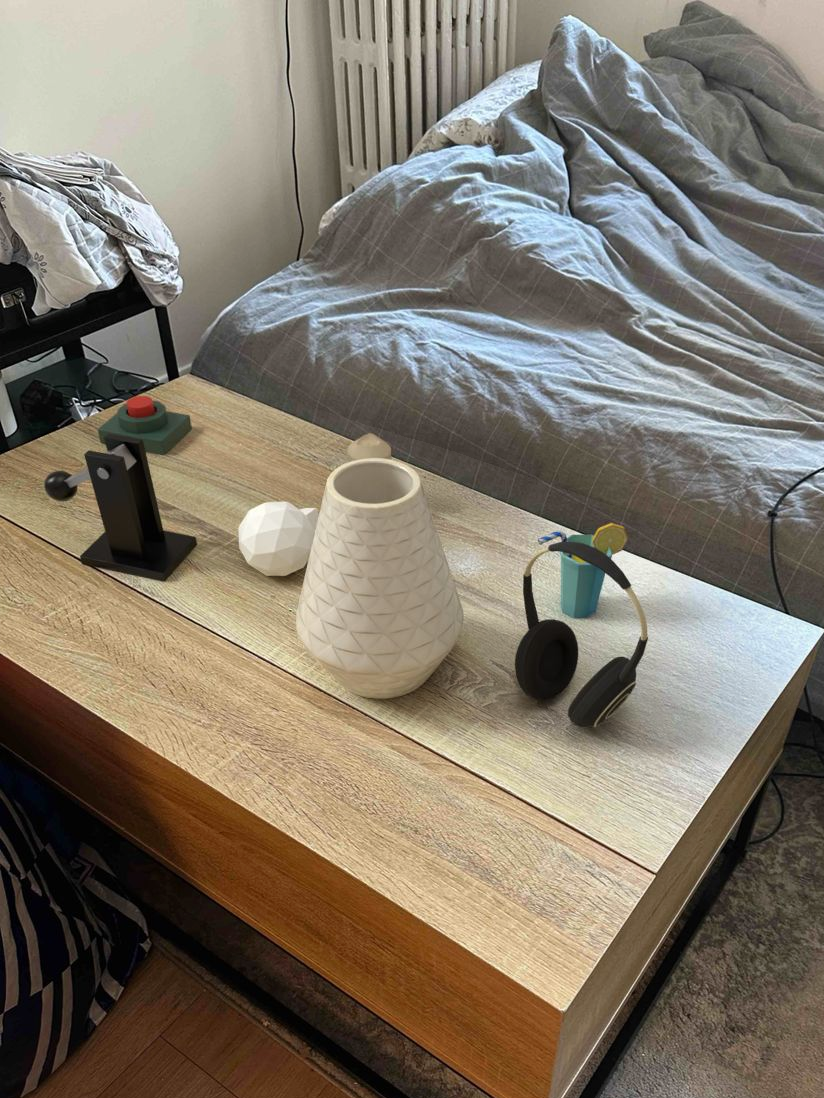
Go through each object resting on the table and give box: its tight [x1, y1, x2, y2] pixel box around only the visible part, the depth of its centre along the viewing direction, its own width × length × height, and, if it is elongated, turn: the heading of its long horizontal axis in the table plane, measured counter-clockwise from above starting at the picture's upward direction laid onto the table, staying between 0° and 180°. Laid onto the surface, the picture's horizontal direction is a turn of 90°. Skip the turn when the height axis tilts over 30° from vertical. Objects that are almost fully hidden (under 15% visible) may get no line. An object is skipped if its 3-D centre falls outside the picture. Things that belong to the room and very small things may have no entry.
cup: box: [537, 522, 629, 619], centre depth 110 cm, size 11×6×12 cm, turn 117°
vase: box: [295, 458, 465, 700], centre depth 98 cm, size 18×17×23 cm
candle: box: [346, 432, 392, 463], centre depth 125 cm, size 6×6×10 cm
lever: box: [43, 444, 137, 503], centre depth 112 cm, size 13×4×4 cm, turn 75°
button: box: [125, 395, 155, 418], centre depth 136 cm, size 4×4×2 cm
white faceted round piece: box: [237, 501, 319, 577], centre depth 116 cm, size 9×9×12 cm
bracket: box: [79, 433, 198, 582], centre depth 113 cm, size 11×8×15 cm
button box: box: [97, 400, 193, 456], centre depth 138 cm, size 10×8×4 cm
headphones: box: [514, 541, 649, 729], centre depth 95 cm, size 9×15×20 cm, turn 49°
